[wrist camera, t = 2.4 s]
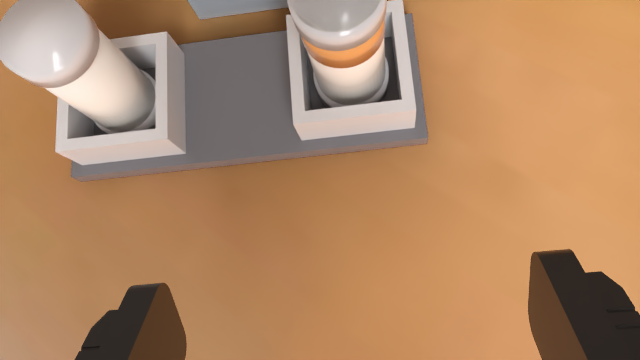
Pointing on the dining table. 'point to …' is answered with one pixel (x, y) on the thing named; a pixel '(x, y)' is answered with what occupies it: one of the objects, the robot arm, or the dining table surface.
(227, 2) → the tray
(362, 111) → the fuse holder
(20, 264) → the dining table surface
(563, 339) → the robot arm
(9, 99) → the dining table surface
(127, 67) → the fuse
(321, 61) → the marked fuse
